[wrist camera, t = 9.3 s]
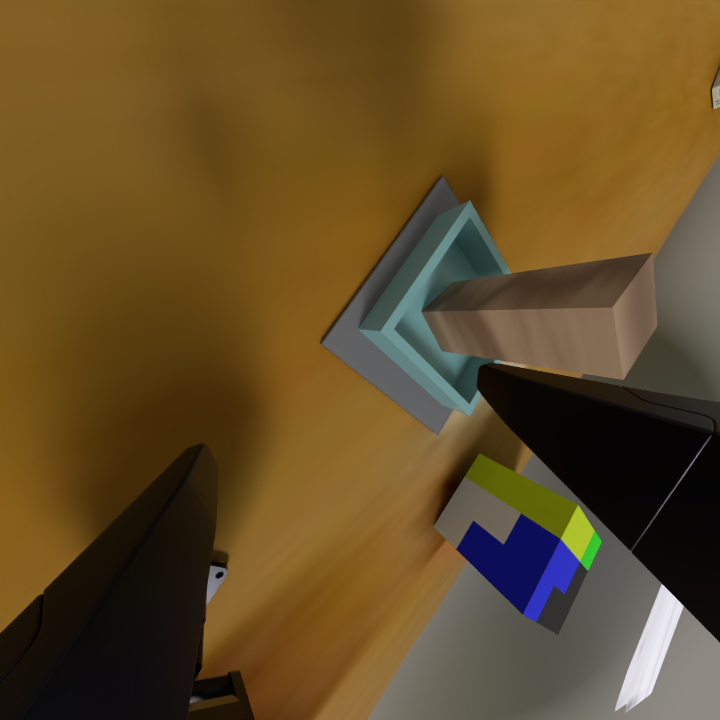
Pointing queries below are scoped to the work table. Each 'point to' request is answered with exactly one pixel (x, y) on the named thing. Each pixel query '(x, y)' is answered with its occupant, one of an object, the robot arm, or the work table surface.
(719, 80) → the skincare box
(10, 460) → the work table surface
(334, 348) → the mat
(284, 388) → the work table surface
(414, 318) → the dish
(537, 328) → the block
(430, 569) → the work table surface
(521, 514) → the puzzle toy
